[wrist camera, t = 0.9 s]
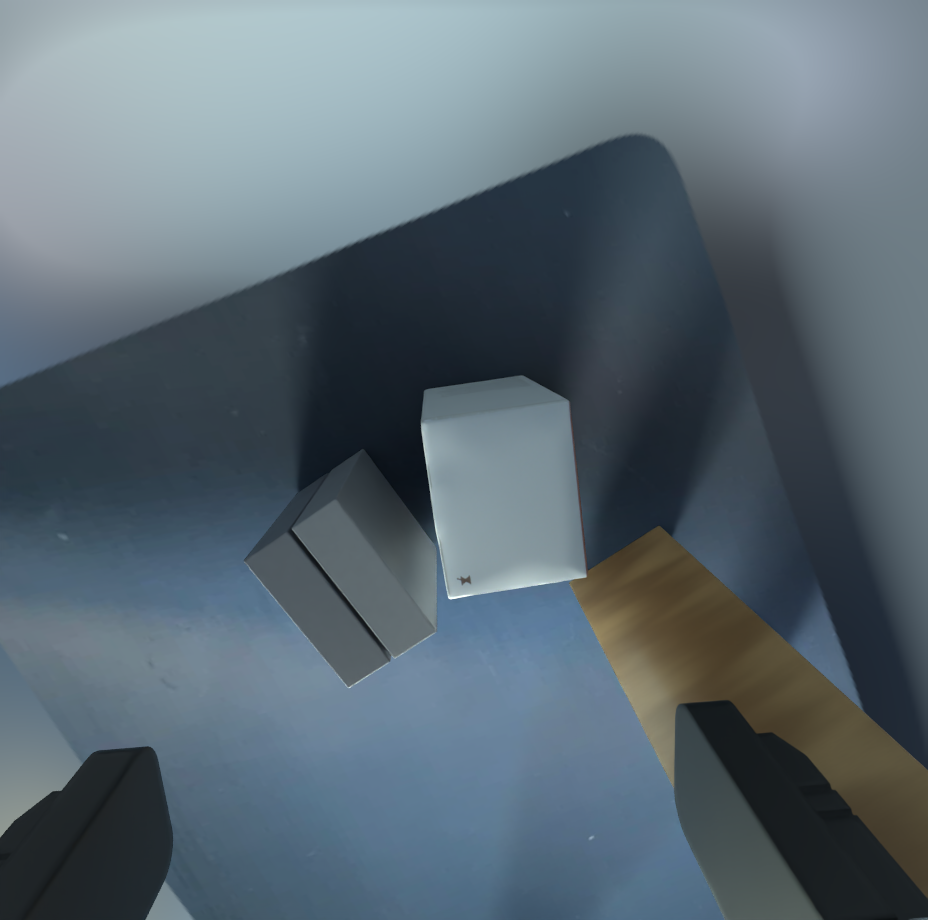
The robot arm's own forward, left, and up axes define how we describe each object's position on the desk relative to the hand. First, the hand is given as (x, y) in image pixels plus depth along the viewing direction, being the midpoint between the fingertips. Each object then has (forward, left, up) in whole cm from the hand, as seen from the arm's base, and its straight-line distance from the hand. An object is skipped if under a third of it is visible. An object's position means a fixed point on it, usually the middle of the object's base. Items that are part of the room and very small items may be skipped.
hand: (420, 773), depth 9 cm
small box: (-2, +2, -30) cm, 30 cm away
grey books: (+7, +2, -29) cm, 30 cm away
